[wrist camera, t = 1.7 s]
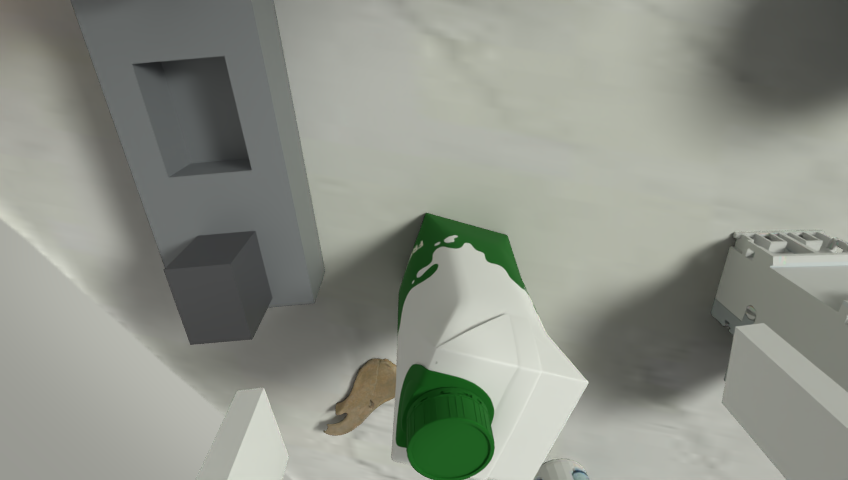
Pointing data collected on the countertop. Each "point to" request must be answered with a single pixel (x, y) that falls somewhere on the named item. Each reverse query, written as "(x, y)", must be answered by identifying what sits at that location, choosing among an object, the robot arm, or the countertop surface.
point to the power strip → (211, 153)
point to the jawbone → (365, 395)
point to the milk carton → (474, 361)
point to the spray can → (561, 471)
